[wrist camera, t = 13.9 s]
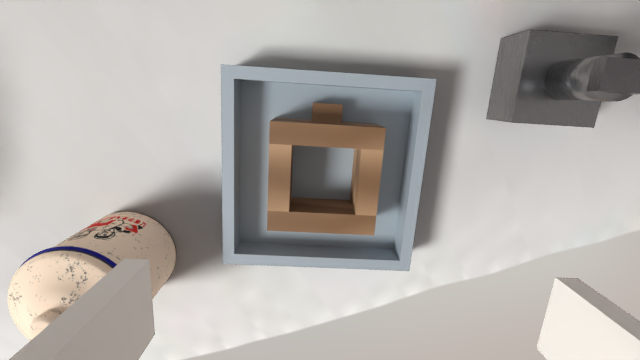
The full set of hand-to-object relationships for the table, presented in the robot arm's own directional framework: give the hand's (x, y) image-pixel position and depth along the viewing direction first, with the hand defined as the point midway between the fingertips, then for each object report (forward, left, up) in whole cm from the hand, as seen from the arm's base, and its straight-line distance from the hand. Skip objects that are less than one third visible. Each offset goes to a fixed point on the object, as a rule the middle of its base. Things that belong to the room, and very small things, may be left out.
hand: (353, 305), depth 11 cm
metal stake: (-18, -9, -21) cm, 29 cm away
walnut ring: (0, 0, -20) cm, 20 cm away
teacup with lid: (+20, +10, -22) cm, 31 cm away
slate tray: (0, 0, -21) cm, 21 cm away
